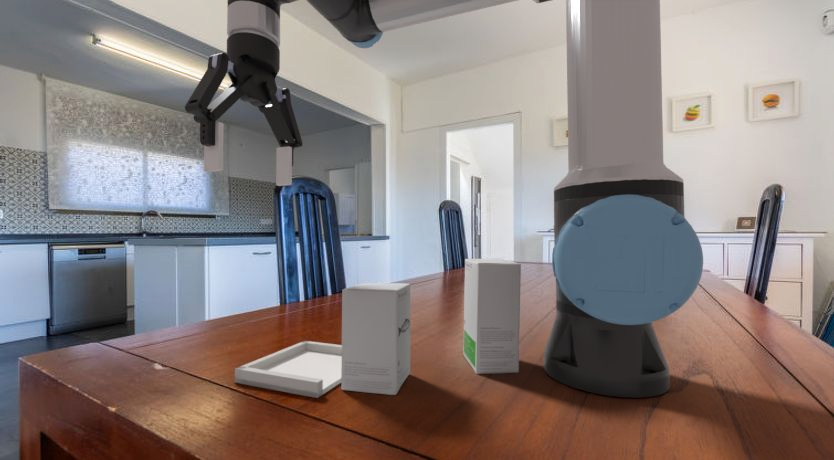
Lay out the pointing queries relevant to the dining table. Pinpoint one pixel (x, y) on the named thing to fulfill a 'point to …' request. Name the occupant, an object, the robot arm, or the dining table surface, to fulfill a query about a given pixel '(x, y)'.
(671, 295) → the robot arm
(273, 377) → the grey tray
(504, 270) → the skincare box
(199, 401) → the dining table surface
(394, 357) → the supplement box
